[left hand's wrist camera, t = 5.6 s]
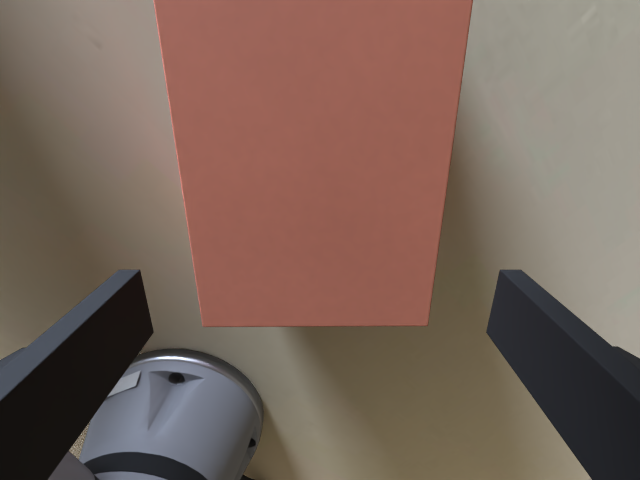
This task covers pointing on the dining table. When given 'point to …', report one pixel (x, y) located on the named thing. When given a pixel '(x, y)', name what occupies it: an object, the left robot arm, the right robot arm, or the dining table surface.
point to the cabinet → (314, 153)
